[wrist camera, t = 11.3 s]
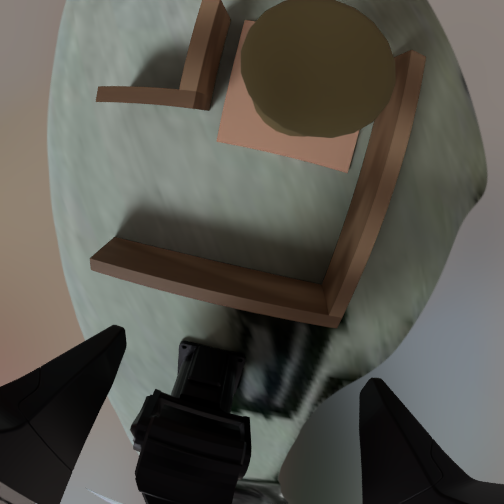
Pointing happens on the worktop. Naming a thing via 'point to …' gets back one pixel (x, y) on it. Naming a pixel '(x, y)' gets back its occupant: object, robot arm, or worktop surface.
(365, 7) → the worktop surface
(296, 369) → the worktop surface
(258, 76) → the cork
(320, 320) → the bent channel
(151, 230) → the worktop surface
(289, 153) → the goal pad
